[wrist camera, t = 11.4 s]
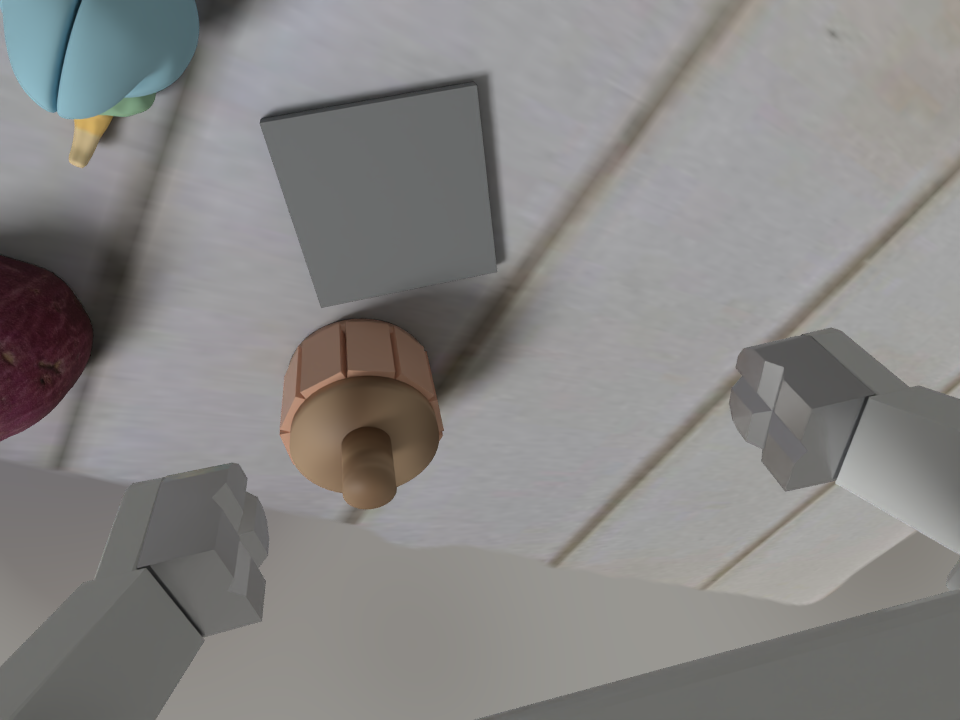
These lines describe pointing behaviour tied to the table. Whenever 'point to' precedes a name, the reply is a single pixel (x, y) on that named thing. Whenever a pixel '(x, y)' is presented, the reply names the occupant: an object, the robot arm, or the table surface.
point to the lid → (364, 438)
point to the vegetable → (37, 343)
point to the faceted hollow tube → (354, 363)
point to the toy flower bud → (98, 57)
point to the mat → (387, 191)
